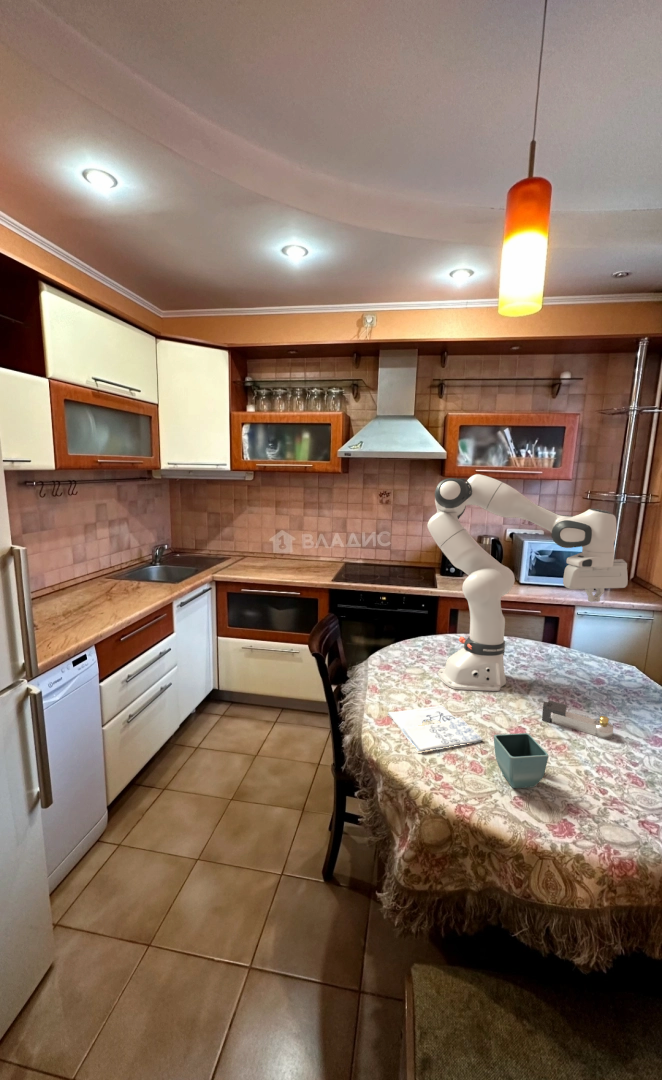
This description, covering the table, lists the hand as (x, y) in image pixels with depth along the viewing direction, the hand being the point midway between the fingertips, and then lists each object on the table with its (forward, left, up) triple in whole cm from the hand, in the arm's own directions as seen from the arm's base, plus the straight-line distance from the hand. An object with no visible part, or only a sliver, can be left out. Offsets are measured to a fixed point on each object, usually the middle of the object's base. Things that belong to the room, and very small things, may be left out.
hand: (593, 601), depth 142 cm
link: (-20, -25, -28) cm, 43 cm away
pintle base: (-20, -25, -29) cm, 43 cm away
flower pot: (-48, -41, -29) cm, 70 cm away
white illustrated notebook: (-60, -18, -30) cm, 69 cm away
